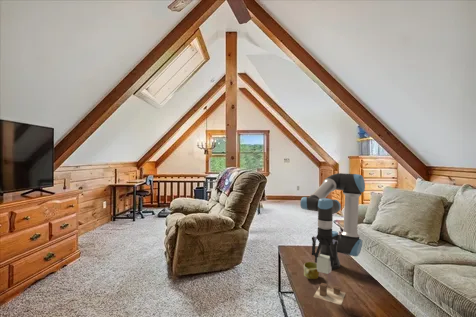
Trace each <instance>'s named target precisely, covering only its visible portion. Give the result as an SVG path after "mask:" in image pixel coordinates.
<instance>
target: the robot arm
mask: <svg viewBox="0 0 476 317" xmlns="http://www.w3.org/2000/svg"><path fill="white" fill-rule="evenodd" d="M365 182H366V181H365V178H364V177H363V175H361V174H359V173H358V174H357V173H344V172H343V173H342V172H341V173H340V172H339V173H334V174H331V175H329V176H327V177H326V178H325V179H324V180H323V181H322V183H321V185H319V187H317V189H315V191H313V193H311V194H310V195H309V196H303V197H301V199H300V203H299V204H300V208H301V209H302V210H306V211H312V212H317V235H316V236H315V235H313V236H312V237H311V241H312V244H311V255H312V256H314V263H316V264H318V256H319V255H320V254H322V255H327V256H330V260H329V273H330V274H331V273H332V270H337V269H339V268H340V267H341V261H340V259H339V255H338V253H339V254H343V255H347V256H350V257H351V256H352V257H355V258H356V257H358V256H360V253H361V251H362V247H363V240H362V239H361V238H360V235H359V233H358V223H359V206H360V205H359V204H360V203H359V201H360V197H361V196H362V195H363V194H362V193H364V192H365V191H366V190H365V189H366V184H365ZM337 190H338V191H342V194H343V195H344V211H343V229H342V230H343V231H340V234H339V233H338V231H336V230H333V222H334V220H333V217H334V214H336V213H339V211H340V210H341V208H342V205H341V203H340V201H339V200H338V199H331V198H327V197H328V196H329V194H331V192H335V191H337ZM317 241H318V246H317V248H316V245H317ZM329 273H328V274H329Z"/></svg>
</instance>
